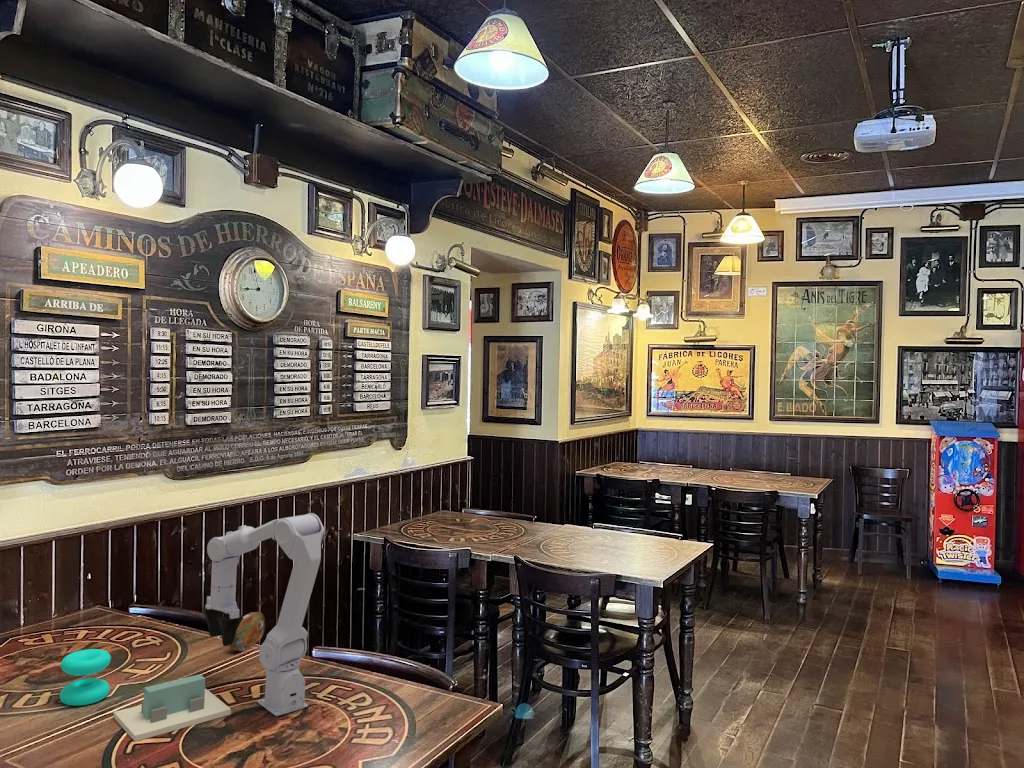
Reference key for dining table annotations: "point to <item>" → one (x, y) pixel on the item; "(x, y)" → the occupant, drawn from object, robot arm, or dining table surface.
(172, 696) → the teal rectangular block
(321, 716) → the dining table surface
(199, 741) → the dining table surface
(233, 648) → the tin
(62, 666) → the donuts
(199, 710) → the hinge board
